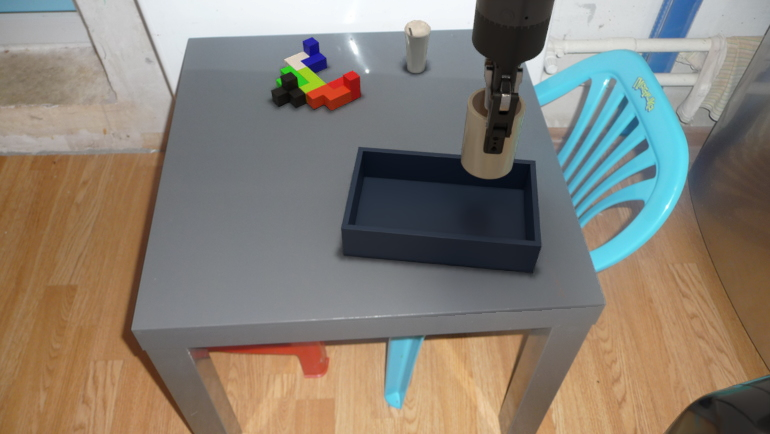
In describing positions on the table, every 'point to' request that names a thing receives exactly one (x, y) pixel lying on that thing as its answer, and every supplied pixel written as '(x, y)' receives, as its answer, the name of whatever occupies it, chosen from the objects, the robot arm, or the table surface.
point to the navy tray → (441, 211)
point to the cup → (474, 140)
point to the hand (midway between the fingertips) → (491, 131)
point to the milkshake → (416, 45)
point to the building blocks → (313, 81)
